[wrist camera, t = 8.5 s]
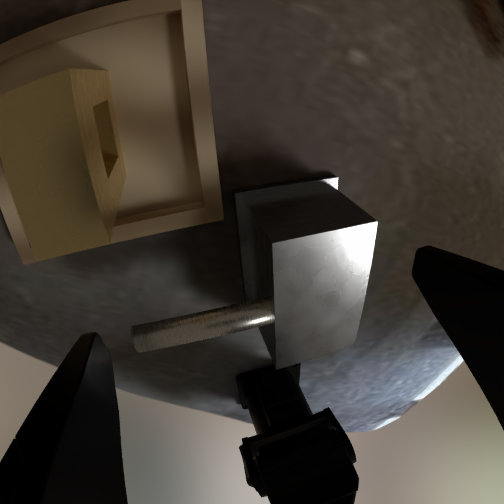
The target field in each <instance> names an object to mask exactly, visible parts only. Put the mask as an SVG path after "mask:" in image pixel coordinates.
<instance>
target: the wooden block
mask: <svg viewBox="0 0 504 504" xmlns="http://www.w3.org/2000/svg"><path fill="white" fill-rule="evenodd" d="M0 157H1V161H2V164H3V168H4V172H5V175H6V178H7V182H8V185H9V188H10V191H11V194H12V197H13V200H14V203H15V206H16V209H17V212H18V214H19V217H20V220H21V223H22V225H23V228H24V230H25V233H26V235H27V238H28V240H29V243H30V245H31V248H32V250H33V252H34V255H35V257H36V259H37V261H42V260H46V259H50V258H54V257H58V256H62V255H67V254H71V253H75V252H79V251H83V250H87V249H92V248H96V247H100V246H105V245H109V244H110V242H111V237H112V233H113V228H114V224H115V220H116V215H117V211H118V207H119V203H120V199H121V195H122V191H123V188H124V184H125V180H126V177H127V173H126V169H125V164H124V159H123V154H122V149H121V144H120V139H119V134H118V129H117V123H116V117H115V111H114V105H113V99H112V92H111V86H110V79H109V71H105V70H90V69H67V70H63V71H60V72H58V73H55V74H52V75H49V76H46V77H44V78H41V79H38V80H36V81H33V82H31V83H28V84H26V85H23V86H21V87H18V88H16V89H14V90H11V91H9V92H7V93H5V94H2V95H0Z"/></svg>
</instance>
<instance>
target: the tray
mask: <svg viewBox="0 0 504 504" xmlns="http://www.w3.org/2000/svg"><path fill="white" fill-rule="evenodd" d="M67 69H90V70H105V71H109V79H110V86H111V92H112V99H113V105H114V111H115V117H116V123H117V129H118V134H119V139H120V144H121V149H122V154H123V159H124V164H125V169H126V173H127V177H126V180H125V184H124V188H123V191H122V195H121V199H120V203H119V207H118V211H117V215H116V220H115V224H114V228H113V233H112V237H111V242H110V244H112V243H117V242H121V241H126V240H130V239H135V238H139V237H144V236H148V235H153V234H158V233H162V232H167V231H172V230H176V229H181V228H186V227H191V226H196V225H201V224H206V223H211V222H216V221H221V220H224V213H223V205H222V197H221V188H220V180H219V171H218V163H217V154H216V145H215V136H214V126H213V117H212V108H211V98H210V88H209V78H208V68H207V57H206V46H205V35H204V24H203V12H202V0H129V1H124V2H120V3H116V4H111V5H107V6H103V7H100V8H96V9H92V10H89V11H85V12H82V13H79V14H75V15H72V16H69V17H66V18H63V19H60V20H58V21H55V22H52V23H49V24H47V25H44V26H41V27H39V28H36V29H34V30H31V31H29V32H27V33H24V34H22V35H20V36H17V37H15V38H13V39H11V40H9V41H7V42H5V43H2V44H0V95H2V94H5V93H7V92H9V91H11V90H14V89H16V88H18V87H21V86H23V85H26V84H28V83H31V82H33V81H36V80H38V79H41V78H44V77H46V76H49V75H52V74H55V73H58V72H60V71H63V70H67ZM0 208H1V211H2V213H3V216H4V219H5V221H6V224H7V226H8V229H9V232H10V234H11V236H12V239H13V241H14V244H15V246H16V248H17V251H18V253H19V255H20V257H21V260H22V262H23V264H24V265H26V264H30V263H34V262H38V261H37V259H36V257H35V255H34V252H33V250H32V248H31V245H30V243H29V240H28V238H27V235H26V233H25V230H24V228H23V225H22V223H21V220H20V217H19V214H18V212H17V209H16V206H15V203H14V200H13V197H12V194H11V191H10V188H9V185H8V182H7V178H6V175H5V172H4V168H3V164H2V161H1V157H0Z"/></svg>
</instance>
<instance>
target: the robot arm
mask: <svg viewBox="0 0 504 504" xmlns="http://www.w3.org/2000/svg"><path fill="white" fill-rule="evenodd" d="M412 277H413V279H414V281H415V283H416V284H417V286H418V288H419V289H420V291H421V293H422V294H423V296H424V298H425V300H426V301H427V303H428V305H429V307H430V308H431V310H432V312H433V314H434V315H435V317H436V318H437V320H438V322H439V323H440V324H441V326H442V327H443V329H444V330H445V332H446V333H447V335H448V336H449V338H450V339H451V341H452V342H453V344H454V346H455V347H456V349H457V350H458V352H459V353H460V355H461V356H462V358H463V360H464V361H465V363H466V364H467V366H468V368H469V369H470V371H471V372H472V374H473V376H474V377H475V379H476V381H477V383H478V384H479V385H480V387H481V389H482V391H483V393H484V394H485V396H486V398H487V400H488V402H489V403H490V405H491V407H492V409H493V411H494V412H495V414H496V416H497V417H498V420H499V422H500V424H501V426H502V428H503V430H504V271H503V270H500V269H498V268H495V267H492V266H489V265H486V264H483V263H481V262H478V261H475V260H472V259H469V258H466V257H463V256H460V255H457V254H454V253H451V252H448V251H445V250H442V249H439V248H436V247H432V246H424V247H421V248H418V249H417V251H416V253H415V258H414V263H413V267H412ZM300 365H301V364H300V363H298V364H294V365H291V366H288V367H284V368H281V369H277V370H276V368H275V366H271V367H267V368H264V369H260V370H256V371H252V372H249V373H245V374H241V375H238V376H237V377H236V380H237V386H238V391H239V396H240V400H241V405H242V408H243V409H249V412H250V415H251V418H252V421H253V424H254V427H255V430H256V433H257V435H255V436H252V437H249V438H247V437H246V438H242V442H243V444H242V445H241V446H240V447H239V449H240V452H241V455H242V459H243V462H244V469H245V475H246V481H247V483H248V485H249V486H251V487H254V488H255V490H256V491H257V492H258V493H259V495H260V496H261V497H265V496H268V499H269V501H270V503H271V504H354V501H355V496H356V491H357V490H358V484H359V478H358V475H357V472H356V470H355V468H354V466H353V463H355V462H356V455H355V452H354V449H353V447H352V444H351V442H350V440H349V438H348V436H347V435H346V433H345V431H344V430H343V428H342V427H341V425H340V424H339V422H338V421H337V419H336V418H335V416H334V414H333V413H332V411H331V410H330V408H329V407H328V408H326V409H323V411H321V412H318V413H316V414H313V413H312V411H311V409H310V407H309V405H308V403H307V401H306V399H305V397H304V394H303V392H302V390H301V388H300V386H299V378H300ZM15 438H16V439H13V441H12V443H11V444H10V446H9V448H8V450H7V451H6V453H5V455H4V456H3V458H2V460H1V462H0V504H128V503H127V495H126V487H125V480H124V470H123V460H122V449H121V436H120V420H119V409H118V402H117V396H116V389H115V381H114V373H113V365H112V359H111V355H110V353H109V351H108V350H107V348H106V346H105V344H104V343H103V341H102V339H101V337H100V336H99V334H98V333H96V332H91V333H86V334H82V335H81V336H80V337H79V339H78V340H77V342H76V343H75V344H74V346H73V347H72V349H71V350H70V352H69V353H68V354H67V356H66V357H65V359H64V360H63V362H62V363H61V365H60V366H59V368H58V369H57V371H56V372H55V373H54V375H53V376H52V378H51V380H50V381H49V383H48V384H47V386H46V387H45V389H44V390H43V392H42V393H41V395H40V396H39V398H38V400H37V401H36V403H35V404H34V406H33V408H32V409H31V411H30V413H29V414H28V416H27V417H26V419H25V421H24V422H23V424H22V426H21V427H20V429H19V431H18V432H17V434H16V436H15Z"/></svg>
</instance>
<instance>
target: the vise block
mask: <svg viewBox="0 0 504 504" xmlns="http://www.w3.org/2000/svg"><path fill="white" fill-rule="evenodd" d="M337 189H338V177H336V176H335V175H327V176H319V177H312V178H305V179H298V180H291V181H284V182H278V183H271V184H265V185H259V186H253V187H247V188H241V189H235V190H233V197H234V207H235V217H236V226H237V236H238V245H239V254H240V264H241V273H242V282H243V291H244V300H245V302H242V303H237V304H233V305H229V306H224V307H220V308H216V309H211V310H207V311H202V312H197V313H193V314H188V315H184V316H179V317H174V318H169V319H164V320H160V321H155V322H150V323H145V324H140V325H134V326H132V329H131V332H132V339H133V343H134V346H135V349H136V351H137V352H138V353H142V352H147V351H152V350H157V349H163V348H168V347H173V346H177V345H182V344H187V343H192V342H196V341H201V340H205V339H210V338H214V337H219V336H223V335H227V334H232V333H236V332H240V331H244V330H248V329H252V328H256V327H258V328H259V330H260V332H261V335H262V337H263V340H264V342H265V344H266V347H267V349H268V351H269V354H270V356H271V359H272V361H273V363H274V366H275V368H276V370H277V369H281V368H284V367H288V366H291V365H294V364H298V363H301V362H304V361H307V360H310V359H314V358H317V357H320V356H323V355H326V354H329V353H332V352H335V351H338V350H341V349H343V348H346V347H349V346H352V345H354V344H355V340H356V336H357V332H358V327H359V323H360V318H361V314H362V309H363V304H364V299H365V294H366V289H367V284H368V279H369V273H370V268H371V262H372V256H373V250H374V243H375V237H376V230H377V223H378V221H376V220H375V219H374V218H373V217H372V216H370V215H369V214H368V213H367V212H365V211H364V210H363V209H361V208H360V207H359V206H358V205H356V204H355V203H354V202H353V201H351V200H350V199H349V198H347V197H346V196H345V195H343V194H342V193H341V192H339V191H338V190H337Z"/></svg>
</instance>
